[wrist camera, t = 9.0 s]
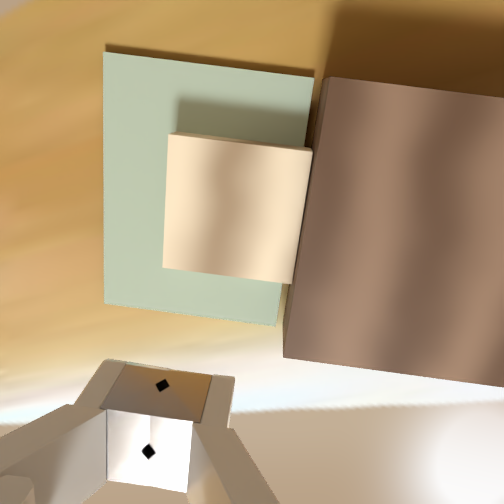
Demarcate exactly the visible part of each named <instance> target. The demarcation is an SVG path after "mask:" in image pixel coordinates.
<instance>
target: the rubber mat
mask: <svg viewBox="0 0 504 504" xmlns="http://www.w3.org/2000/svg"><path fill="white" fill-rule="evenodd" d="M313 84H314V78H311V77H302V76H294V75H286V74H278V73H270V72H262V71H254V70H246V69H238V68H230V67H222V66H214V65H206V64H198V63H190V62H182V61H174V60H166V59H158V58H150V57H142V56H134V55H126V54H118V53H110V52H103V145H104V304H111V305H119V306H126V307H133V308H141V309H148V310H156V311H163V312H171V313H178V314H186V315H193V316H200V317H208V318H215V319H223V320H230V321H238V322H245V323H253V324H260V325H268V326H275V327H276V321H277V314H278V308H279V302H280V295H281V289H282V283H277V282H270V281H262V280H254V279H246V278H238V277H231V276H223V275H215V274H207V273H200V272H192V271H184V270H176V269H169V268H162V266H163V243H164V220H165V197H166V174H167V151H168V134H170V133H173V132H176V131H178V132H186V133H194V134H202V135H211V136H219V137H227V138H235V139H243V140H251V141H259V142H267V143H276V144H284V145H292V146H300V147H304V142H305V135H306V129H307V123H308V116H309V110H310V103H311V97H312V91H313Z"/></svg>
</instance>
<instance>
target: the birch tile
mask: <svg viewBox="0 0 504 504" xmlns="http://www.w3.org/2000/svg"><path fill="white" fill-rule="evenodd" d="M312 154H313V151H312V150H311V148H308V147H300V146H292V145H284V144H276V143H267V142H259V141H251V140H243V139H235V138H227V137H219V136H211V135H202V134H194V133H186V132H178V131H176V132H173V133H170V134H168V151H167V174H166V197H165V220H164V243H163V266H162V268H169V269H176V270H184V271H192V272H200V273H207V274H215V275H223V276H231V277H238V278H246V279H254V280H262V281H270V282H277V283H285V284H292V279H293V273H294V267H295V260H296V254H297V248H298V242H299V236H300V229H301V223H302V217H303V211H304V204H305V198H306V192H307V186H308V179H309V173H310V167H311V161H312Z"/></svg>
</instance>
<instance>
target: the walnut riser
mask: <svg viewBox="0 0 504 504" xmlns="http://www.w3.org/2000/svg"><path fill="white" fill-rule="evenodd" d="M311 150H312V151H313V154H312V161H311V167H310V173H309V179H308V186H307V192H306V198H305V204H304V211H303V217H302V223H301V229H300V236H299V242H298V248H297V254H296V260H295V267H294V273H293V279H292V284H289V289H288V295H287V302H286V308H285V314H284V320H283V358H290V359H298V360H305V361H313V362H320V363H327V364H335V365H342V366H349V367H357V368H364V369H372V370H379V371H386V372H394V373H401V374H409V375H416V376H423V377H431V378H438V379H445V380H453V381H460V382H468V383H475V384H482V385H490V386H497V387H504V98H500V97H492V96H484V95H476V94H468V93H460V92H452V91H444V90H436V89H428V88H420V87H412V86H404V85H396V84H388V83H380V82H372V81H364V80H355V79H347V78H339V77H331V76H330V77H328V78H325V79H323V80H322V87H321V93H320V99H319V105H318V111H317V117H316V123H315V130H314V136H313V142H312V148H311Z"/></svg>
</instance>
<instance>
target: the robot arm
mask: <svg viewBox="0 0 504 504" xmlns="http://www.w3.org/2000/svg"><path fill="white" fill-rule="evenodd" d="M234 384H235V378H234V377H232V376H223V375H215V374H214V375H209V374H201V373H194V372H187V371H180V370H173V369H169V368H163V367H157V366H151V365H145V364H139V363H133V362H126V361H120V360H113V359H106V360H104V361H103V362H102V364H101V365H100V366H99V368H98V369H97V371H96V372H95V374H94V375H93V377H92V378H91V380H90V381H89V383H88V384H87V386H86V387H85V388H84V390H83V391H82V393H81V394H80V396H79V397H78V399H77V400H76V402H75V403H74V405H69V404H66V405H64V406H62V407H60V408H58V409H56V410H54V411H52V412H50V413H48V414H46V415H44V416H42V417H40V418H38V419H36V420H34V421H32V422H30V423H28V424H26V425H24V426H22V427H20V428H18V429H16V430H14V431H12V432H10V433H8V434H6V435H4V436H2V437H0V504H82V503H83V502H84V501H85V500H86V499H88V498H89V497H90V496H91V495H92V494H94V493H95V492H96V491H97V490H98V489H99V488H101V487H102V486H103V485H104V484H105V483H106V480H109V481H118V482H127V483H134V484H143V485H149V486H155V487H160V488H166V489H171V490H177V491H183V492H186V496H187V498H188V502H189V504H280V503H279V501H278V500H277V498H276V497H275V495H274V493H273V492H272V490H271V489H270V487H269V486H268V484H267V482H266V481H265V479H264V477H263V476H262V474H261V473H260V471H259V470H258V468H257V466H256V464H255V463H254V461H253V460H252V458H251V456H250V455H249V453H248V452H247V450H246V448H245V447H244V445H243V444H242V442H241V440H240V439H239V437H238V436H237V434H236V432H235V431H234V429H231V428H229V423H230V415H231V407H232V400H233V392H234Z"/></svg>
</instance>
